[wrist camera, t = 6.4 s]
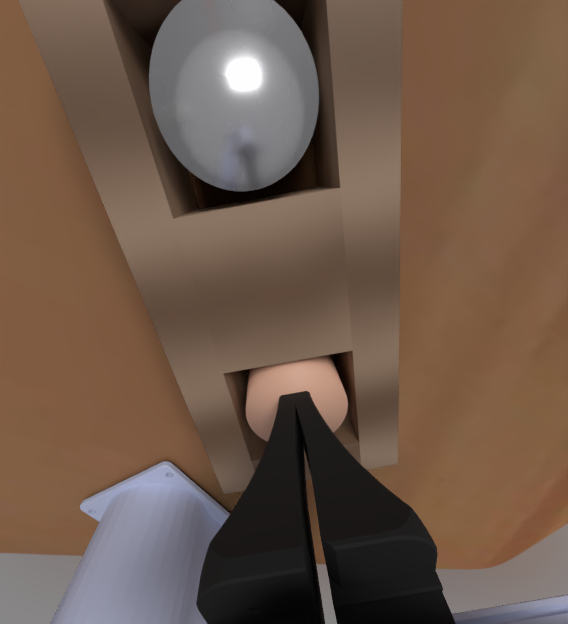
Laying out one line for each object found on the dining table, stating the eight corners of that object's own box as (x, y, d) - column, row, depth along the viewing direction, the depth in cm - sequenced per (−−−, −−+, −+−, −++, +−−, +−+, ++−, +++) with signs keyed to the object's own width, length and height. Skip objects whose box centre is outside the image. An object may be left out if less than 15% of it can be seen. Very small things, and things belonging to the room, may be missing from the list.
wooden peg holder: (371, 409, 19) (398, 464, 15) (231, 434, 19) (224, 494, 15) (350, -72, 9) (404, -231, 6) (75, -18, 10) (-40, -141, 6)
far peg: (333, 386, 18) (351, 437, 14) (258, 400, 18) (257, 454, 14) (325, 319, 16) (344, 359, 12) (241, 335, 16) (234, 379, 12)
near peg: (309, 178, 13) (327, 176, 9) (204, 198, 13) (180, 203, 9) (293, 39, 11) (307, -34, 7) (168, 63, 11) (119, 3, 7)
